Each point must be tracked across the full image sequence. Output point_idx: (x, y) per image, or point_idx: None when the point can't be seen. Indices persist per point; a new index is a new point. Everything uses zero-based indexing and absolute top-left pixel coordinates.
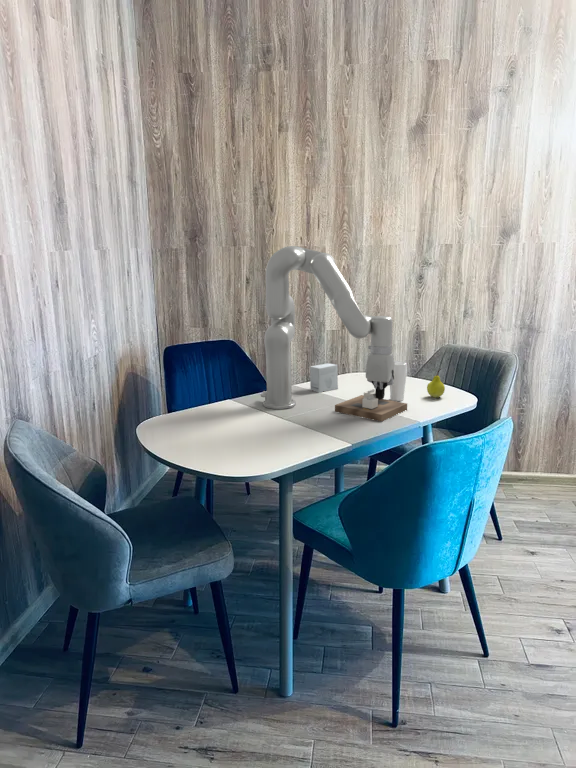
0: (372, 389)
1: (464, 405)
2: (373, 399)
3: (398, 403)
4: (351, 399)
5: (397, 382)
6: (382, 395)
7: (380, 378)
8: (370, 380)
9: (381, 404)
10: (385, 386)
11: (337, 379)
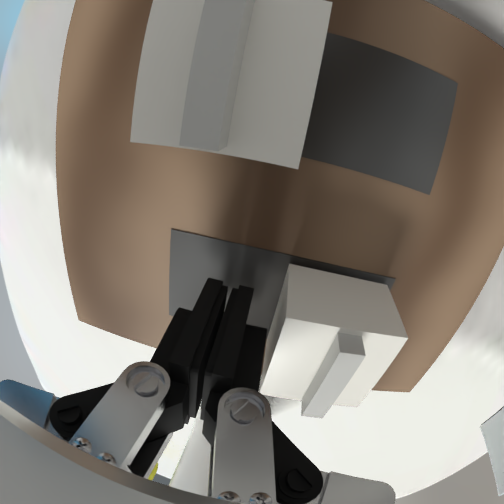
0: (324, 412)
1: (39, 378)
2: (162, 58)
3: (109, 308)
4: (477, 282)
5: (189, 487)
6: (173, 319)
7: (22, 493)
8: (343, 500)
9: (190, 237)
10: (85, 392)
11: (489, 452)
